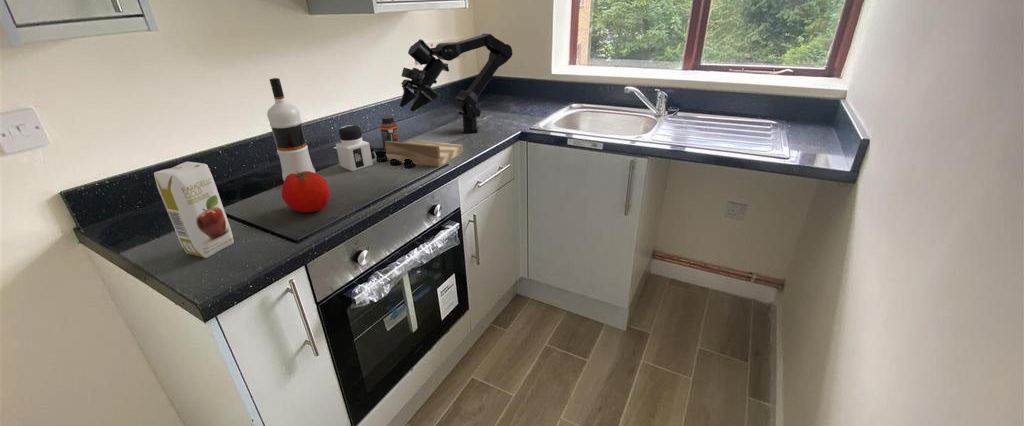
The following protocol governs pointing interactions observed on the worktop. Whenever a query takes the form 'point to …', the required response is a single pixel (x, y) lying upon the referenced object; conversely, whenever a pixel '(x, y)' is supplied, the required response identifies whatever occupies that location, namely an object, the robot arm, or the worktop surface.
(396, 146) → the wooden block
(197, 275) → the worktop surface
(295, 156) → the vodka
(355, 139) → the container
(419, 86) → the robot arm
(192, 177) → the juice carton
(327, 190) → the tomato
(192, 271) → the worktop surface
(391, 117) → the supplement bottle
